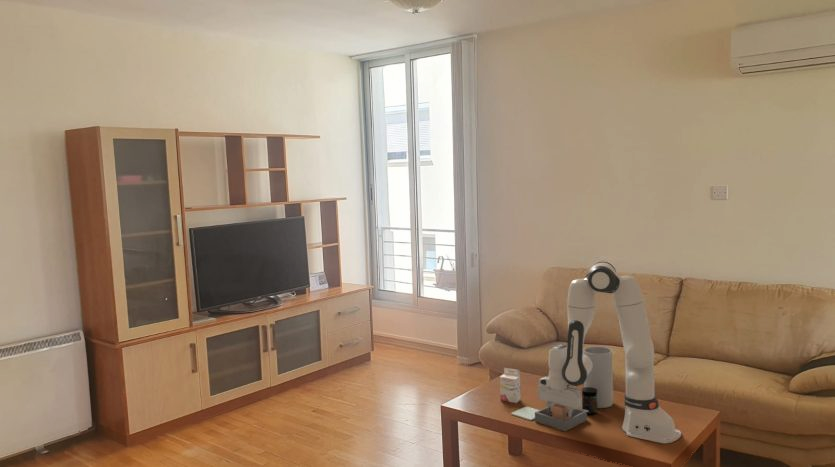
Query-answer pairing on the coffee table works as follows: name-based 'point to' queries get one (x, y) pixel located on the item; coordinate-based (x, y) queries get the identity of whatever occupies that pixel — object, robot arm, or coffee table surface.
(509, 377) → the ink cartridge box
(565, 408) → the salmon pink block
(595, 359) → the cylinder vase
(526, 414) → the pad
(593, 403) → the supplement container
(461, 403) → the coffee table surface
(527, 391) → the coffee table surface
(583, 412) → the parts bin
